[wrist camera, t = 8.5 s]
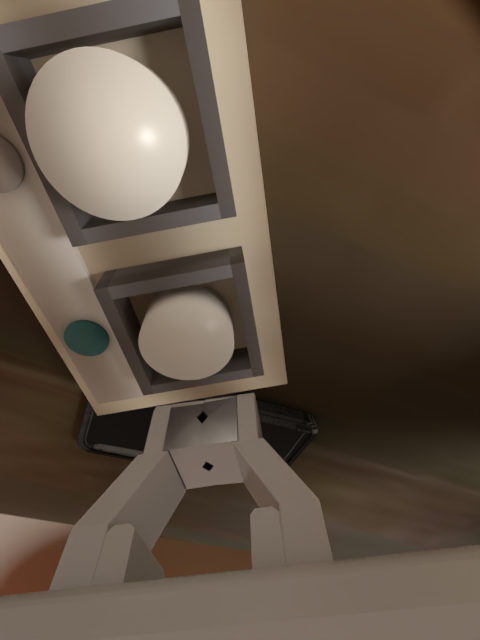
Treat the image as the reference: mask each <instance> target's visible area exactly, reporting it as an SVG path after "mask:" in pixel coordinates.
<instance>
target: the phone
mask: <svg viewBox="0 0 480 640" xmlns="http://www.w3.org/2000/svg"><path fill="white" fill-rule="evenodd" d="M235 395H236V394H232V393H230V394H224V395H218V396H212V397H206V398H200V399H194V400H188V401H182V402H176V403H170V404H164V405H172V404H178V403H187V402H195V401H204V400H209V399H215V398H222V397H228V396H235ZM256 402H257V407H258V412H259V417H260V423H261V429H262V436H263V438H264V439H265V440H266V441H267V442H268V444H269V445H270V446H271V447H272V448H273V449H274V450H275V451H276V452H277V454H278V455H279V456H280V457H281V458H282V459H283V460H284V461H285V462H286V463H287V465H288V466H289V467H290V465H291V464H292V463H293V462H294V461H295V460H296V458H297V457H298V456H299V455H300V454H301V453H302V451H303V450H304V449H305V448H306V447H307V446H308V444H309V443H310V442H311V441H312V440H313V439H314V437H315V436H316V435H317V433H318V428H317V424H316V421H315V419H314V417H313V416H312V415H311V414H308V413H305V412H301V411H297V410H294V409H290V408H286V407H282V406H278V405H274V404H271V403H267V402H263V401H259V400H256ZM164 405H158V406H164ZM156 407H157V406H153V407H147V408H141V409H135V410H129V411H123V412H117V413H111V414H105V415H99V416H97V414H96V412H95V411H94V409H93V408H92V406H91V404H90V403H89V401H88V403H87V407H86V410H85V414H84V418H83V421H82V425H81V429H80V432H79V436H78V445H79V446H80V447H81V448H82V449H83V450H85V451H87V452H91V453H95V454H101V455H106V456H112V457H117V458H123V459H128V460H134V459H135V458H136V457H137V455H140V454H143V452H144V448H145V444H146V440H147V436H148V432H149V428H150V424H151V420H152V416H153V412H154V410H155V408H156Z"/></svg>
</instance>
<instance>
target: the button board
mask: <svg viewBox="0 0 480 640" xmlns="http://www.w3.org/2000/svg"><path fill="white" fill-rule="evenodd" d="M85 46H88V47H101V48H105V49H110V50H113V51H116V52H118V53H121V54H123V55H125V56H128V57H130V58H132V59H134V60H136V61H138V62H140V63H142V64H144V65H146V66H147V67H148V68H150V69H151V70H153V71H154V72H155V73H156V74H158V75H159V76H160V77H161V78H162V79H163V80H164V81H165V82H166V84H167V85H168V86H169V87H170V88H171V90H172V91H173V93H174V94H175V96H176V97H177V99H178V101H179V103H180V105H181V107H182V109H183V112H184V114H185V118H186V121H187V125H188V131H189V141H190V147H189V156H188V161H187V165H186V168H185V171H184V173H183V176H182V178H181V181H180V183H179V185H178V187H177V189H176V191H175V193H174V194H173V195H172V197H171V198H170V199H169V200H168V202H167V203H166V204H165V205H164V206H162V207H161V208H160V209H159V210H157V211H155V212H154V213H152V214H150V215H148V216H146V217H143V218H139V219H136V220H129V221H115V220H108V219H104V218H100V217H97V216H94V215H91V214H89V213H87V212H85V211H83V210H81V209H79V208H78V207H76V206H75V205H73V204H72V203H70V202H69V201H68V200H66V199H65V198H64V197H63V196H62V195H61V194H60V193H59V192H58V191H57V190H56V189H55V188H54V187H53V186H52V185H51V184H50V182H49V181H48V180H47V179H46V177H45V176H44V174H43V173H42V171H41V170H40V168H39V166H38V164H37V162H36V160H35V158H34V155H33V153H32V151H31V148H30V144H29V141H28V137H27V132H26V126H25V108H26V100H27V96H28V91H29V89H30V86H31V84H32V81H33V79H34V78H35V76H36V74H37V73H38V71H39V70H40V69H41V68H42V67H43V65H44V64H45V63H46V62H48V61H49V60H50V59H51V58H53V57H54V56H56V55H58V54H59V53H61V52H63V51H66V50H69V49H72V48H77V47H85ZM0 259H1V261H2V262H3V264H4V265H5V267H6V269H7V270H8V272H9V273H10V275H11V277H12V278H13V280H14V282H15V283H16V285H17V286H18V288H19V290H20V291H21V293H22V294H23V296H24V298H25V299H26V301H27V303H28V304H29V306H30V307H31V309H32V311H33V312H34V314H35V315H36V317H37V319H38V320H39V322H40V324H41V325H42V327H43V328H44V330H45V332H46V333H47V335H48V336H49V338H50V340H51V341H52V343H53V345H54V346H55V348H56V349H57V351H58V353H59V354H60V356H61V357H62V359H63V361H64V362H65V364H66V366H67V367H68V369H69V370H70V372H71V374H72V375H73V377H74V378H75V380H76V382H77V383H78V385H79V387H80V388H81V390H82V391H83V393H84V395H85V396H86V398H87V399H88V401H89V403H90V404H91V406H92V408H93V409H94V411H95V412H96V414H97V416H99V415H105V414H111V413H117V412H123V411H129V410H135V409H141V408H147V407H153V406H158V405H164V404H170V403H176V402H182V401H188V400H194V399H200V398H206V397H212V396H218V395H224V394H230V393H235V392H241V391H247V390H253V389H259V388H265V387H271V386H277V385H283V384H287V375H286V367H285V359H284V351H283V342H282V334H281V326H280V318H279V310H278V301H277V293H276V285H275V277H274V268H273V260H272V252H271V244H270V235H269V227H268V219H267V211H266V203H265V194H264V186H263V178H262V170H261V161H260V153H259V145H258V137H257V129H256V120H255V112H254V104H253V96H252V87H251V79H250V71H249V63H248V54H247V46H246V38H245V30H244V22H243V13H242V5H241V0H0ZM195 284H197V285H201V286H204V287H207V288H209V289H211V290H213V291H215V292H216V293H218V294H219V295H220V296H221V297H222V298H223V299H224V300H225V301H226V303H227V304H228V306H229V308H230V310H231V314H232V321H233V332H234V351H233V354H232V357H231V359H230V360H229V362H228V363H227V364H226V365H225V366H224V367H223V368H222V369H221V370H220V371H218V372H217V373H215V374H213V375H211V376H209V377H206V378H202V379H197V380H179V379H174V378H170V377H167V376H165V375H162V374H160V373H159V372H157V371H155V370H154V369H153V368H152V367H150V366H149V365H148V364H147V363H146V361H145V360H144V358H143V357H142V355H141V352H140V350H139V345H138V338H139V333H140V330H141V327H142V323H143V320H144V317H145V314H146V311H147V308H148V305H149V303H150V302H151V300H152V299H153V298H154V297H155V296H156V295H157V294H158V293H159V292H161V291H163V290H168V289H174V288H179V287H185V286H190V285H195Z"/></svg>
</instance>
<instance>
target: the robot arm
mask: <svg viewBox="0 0 480 640" xmlns="http://www.w3.org/2000/svg"><path fill="white" fill-rule="evenodd" d="M242 482H244V484H245V486H246V488H247V489H248V491H249V492H250V494H251V495H252V497H253V498H254V500H255V501H256V503H257V504H258V506H259V507H260V508H255V509H254V510H253V512H252V513H251V514H250V523H251V549H252V569H247V570H238V571H229V572H220V573H210V574H202V575H192V576H183V577H173V578H164V571H163V569H162V568H161V566H160V565H159V563H158V562H157V560H156V559H155V557H154V556H153V554H152V553H151V550H152V548H153V546H154V545H155V543H156V541H157V540H158V538H159V536H160V535H161V533H162V531H163V530H164V528H165V526H166V525H167V523H168V521H169V520H170V518H171V516H172V515H173V513H174V511H175V510H176V508H177V506H178V504H179V503H180V501H181V499H182V498H183V496H184V494H185V493H186V489H193V488H199V487H206V486H212V485H221V484H232V483H242ZM0 640H480V545H471V546H461V547H452V548H443V549H433V550H424V551H415V552H405V553H396V554H387V555H377V556H368V557H359V558H350V559H340V560H333V557H332V553H331V549H330V544H329V540H328V536H327V531H326V527H325V523H324V518H323V514H322V510H321V505H320V501H319V499H318V498H317V497H316V496H315V494H314V493H313V492H312V491H311V490H310V489H309V488H308V487H307V486H306V484H305V483H304V482H303V481H302V480H301V479H300V478H299V477H298V476H297V475H296V473H295V472H294V471H293V470H292V469H291V468H290V467H289V466H288V465H287V463H286V462H285V461H284V460H283V459H282V458H281V457H280V456H279V455H278V454H277V452H276V451H275V450H274V449H273V448H272V447H271V446H270V445H269V444H268V442H267V441H266V440H265V439H264V438H263V436H262V429H261V423H260V417H259V412H258V407H257V402H256V397H255V393H248V394H241V395H235V396H228V397H222V398H215V399H209V400H204V401H195V402H187V403H178V404H172V405H164V406H157V407H156V408H155V410H154V412H153V416H152V420H151V424H150V428H149V432H148V436H147V440H146V444H145V448H144V452H143V454H140V455H137V457H136V458H135V459H134V460H133V461H132V462H131V463H130V464H129V465H128V467H127V468H126V469H125V470H124V471H123V472H122V473H121V474H120V475H119V477H118V478H117V479H116V480H115V481H114V482H113V483H112V484H111V485H110V487H109V488H108V489H107V490H106V491H105V492H104V493H103V494H102V495H101V497H100V498H99V499H98V500H97V501H96V502H95V503H94V504H93V505H92V507H91V508H90V509H89V510H88V511H87V512H86V513H85V514H84V515H83V517H82V518H81V519H80V520H79V521H78V522H77V523H76V524H75V525H74V527H73V528H72V529H71V532H70V535H69V537H68V540H67V543H66V545H65V548H64V551H63V553H62V556H61V559H60V562H59V564H58V567H57V570H56V572H55V575H54V578H53V580H52V583H51V586H50V588H49V591H43V592H34V593H25V594H16V595H6V596H0Z"/></svg>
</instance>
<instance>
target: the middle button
mask: <svg viewBox="0 0 480 640" xmlns="http://www.w3.org/2000/svg"><path fill="white" fill-rule="evenodd" d="M25 126H26V132H27V137H28V141H29V144H30V148H31V151H32V153H33V155H34V158H35V160H36V162H37V164H38V166H39V168H40V170H41V171H42V173H43V174H44V176H45V177H46V179H47V180H48V181H49V182H50V184H51V185H52V186H53V187H54V188H55V189H56V190H57V191H58V192H59V193H60V194H61V195H62V196H63V197H64V198H65V199H66V200H68V201H69V202H70V203H72V204H73V205H75V206H76V207H78V208H79V209H81V210H83V211H85V212H87V213H89V214H91V215H94V216H97V217H100V218H104V219H108V220H115V221H129V220H136V219H139V218H143V217H146V216H148V215H150V214H152V213H154V212H155V211H157V210H159V209H160V208H161V207H162V206H164V205H165V204H166V203H167V202H168V200H169V199H170V198H171V197H172V195H173V194H174V193H175V191H176V189H177V187H178V185H179V183H180V181H181V178H182V176H183V173H184V171H185V168H186V165H187V161H188V156H189V147H190V141H189V131H188V125H187V121H186V118H185V114H184V112H183V109H182V107H181V105H180V103H179V101H178V99H177V97H176V96H175V94H174V93H173V91H172V90H171V88H170V87H169V86H168V85H167V84H166V82H165V81H164V80H163V79H162V78H161V77H160V76H159V75H158V74H156V73H155V72H154V71H153V70H151V69H150V68H148V67H147V66H146V65H144V64H142V63H140V62H138V61H136V60H134V59H132V58H130V57H128V56H125V55H123V54H121V53H118V52H116V51H113V50H110V49H105V48H101V47H88V46H85V47H77V48H72V49H69V50H66V51H63V52H61V53H59V54H58V55H56V56H54V57H53V58H51V59H50V60H49V61H48V62H46V63H45V64H44V65H43V67H42V68H41V69H40V70H39V71H38V73H37V74H36V76H35V78H34V79H33V81H32V84H31V86H30V89H29V91H28V96H27V100H26V108H25Z"/></svg>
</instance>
